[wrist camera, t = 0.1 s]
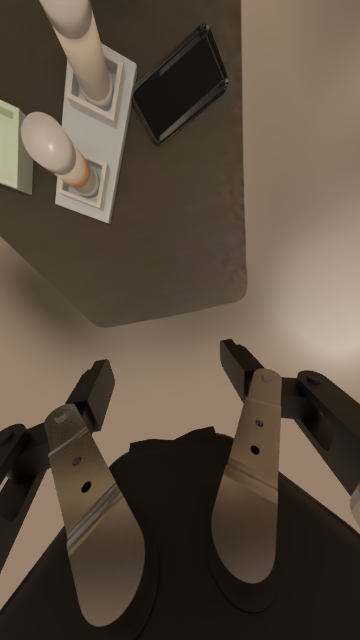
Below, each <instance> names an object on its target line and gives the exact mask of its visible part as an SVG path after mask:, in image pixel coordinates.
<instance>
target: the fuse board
mask: <svg viewBox="0 0 360 640" xmlns="http://www.w3.org/2000/svg"><path fill="white" fill-rule="evenodd" d="M101 46H102V49H103V53H104V57H105V61H106V64H107V68H108V71H109V73H110V76H111V80H112V84H113V88H114V93H113V100H112V106H111V108H110V109H109V110H108V111H104V110H102V109H100V108H98V107H96V106H94V105H93V104H91V103H89V102H87V101H86V99H85V97H84V95H83V93H82V91H81V88H80V86H79V84H78V80H77V78H76V76H75V74H74V72H73V69H72V67H71V65H70V63H69V61H68V59H67V71H66V82H65V94H64V106H63V118H62V128H63V130H64V131H65V132H66V134H67V135H68V136H69V138H70V139H71V141H72V143H73V144H74V145H75V147H76V148H77V149H78V150H79V151H80V153H81V154H82V155H83V156H84V158H85V159H86V161H87V162H88V164H90V165H91V166H92V168H93V169H94V170H95V172H96V173H97V174H98V176H99V178H100V185H99V192H98V195H97V196H95V197H93V198H86V197H83V196H82V195H80V194H79V193H78V192H76V191H75V190H74V189H73V188H72V187H71V186H69V185H68V184H66V183H65V182H63V181H62V180H61V179H60V178H59V177H57V189H56V201H55V204H57V205H59V206H62V207H64V208H67V209H70V210H73V211H75V212H78V213H81V214H83V215H86V216H89V217H92V218H94V219H97V220H100V221H102V222H105V223H108V224H110V223H111V217H112V212H113V206H114V201H115V195H116V190H117V184H118V179H119V173H120V167H121V162H122V156H123V151H124V145H125V140H126V134H127V129H128V123H129V118H130V112H131V106H132V101H131V100H132V95H133V90H134V85H135V84H136V79H137V65H136V64H135V63H134V62H132V61H130V60H129V59H127V58H125V57H124V56H122V55H120V54H119V53H117V52H115V51H114V50H112V49H110V48H109V47H107V46H105V45H103V44H102V43H101Z"/></svg>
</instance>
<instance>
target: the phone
mask: <svg viewBox="0 0 360 640" xmlns="http://www.w3.org/2000/svg"><path fill="white" fill-rule="evenodd" d="M227 86H228V76H227V73H226V70H225V68H224V65H223V62H222V60H221V57H220V54H219V51H218V49H217V46H216V43H215V41H214V38H213V35H212V32H211V30H210V28H209V26H208V25H206V24H201V25H200V26H199V27H198V28H196V29H195V30H194V31H193V32H192V33H191V34H190V35H189V36H188V37H187V38H185V39H184V40H183V41H182V42H181V43H180V44H179V45H178V46H177V47H176V48H174V49H173V50H172V51H171V52H170V53H169V54H168V55H167V56H166V57H165V58H163V59H162V60H161V61H160V62H159V63H158V64H157V65H156V66H155V67H154V68H153V69H151V70H150V71H149V72H148V73H147V74H146V75H145V76H144V77H143V78H142V79H140V80H139V81H138V82H137V83H136V84H135V85H134V90H133V95H132V100H131V101H132V105H133V107H134V109H135V111H136V113H137V114H138V116H139V118H140V120H141V122H142V123H143V125H144V127H145V129H146V131H147V132H148V134H149V136H150V138H151V140H152V141H153V143H154V144H155V145H156V146H162V145H163V144H164V143H165V142H167V141H168V140H169V139H170V138H171V137H172V136H174V135H175V134H176V133H177V132H178V131H180V130H181V129H182V128H183V127H184V126H186V125H187V124H188V123H189V122H190V121H191V120H193V119H194V118H195V117H196V116H197V115H199V114H200V113H201V112H202V111H203V110H205V109H206V108H207V107H208V106H209V105H210V104H212V103H213V102H214V101H215V100H216V99H218V98H219V97H220V96H221V95H222V94H223V93H224V92H225V90H226V88H227Z"/></svg>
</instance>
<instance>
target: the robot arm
mask: <svg viewBox="0 0 360 640" xmlns="http://www.w3.org/2000/svg"><path fill="white" fill-rule="evenodd" d="M220 359H221V364H222V367H223V368H224V370H225V372H226V374H227V375H228V377H229V379H230V381H231V383H232V384H233V386H234V388H235V389H236V391H237V393H238V395H239V396H240V398H241V400H242V401H243V403H244V405H243V408H242V412H241V416H240V420H239V423H238V427H237V431H236V434H235V438H232V437H230V436H227V435H224V434H219V433H215V430H214V427H213V426H212V427H207V428H203V429H197V430H193V431H191V432H189V433H187V434H185V435H183V436H181V437H179V438H177V439H175V440H160V439H148V440H144V441H139V442H134V443H130V449H129V452H127V453H125V454H124V455H122V456H121V457H119V458H118V459H117V460H116V461H115V462H113V463H112V464H111V465H110V467H109V468H108V466H107V465H106V463H105V461H104V459H103V457H102V455H101V453H100V451H99V449H98V447H97V445H96V444H95V442H94V440H93V438H92V433H93V432H97V431H100V430H101V428H102V424H103V421H104V418H105V415H106V411H107V408H108V405H109V402H110V398H111V395H112V391H113V389H114V384H115V379H114V375H113V372H112V369H111V366H110V363H109V361H108V360H107V359H106V360H100V361H96V362H95V363H94V365H93V366H92V368H91V369H90V370H87V371H86V372H85V373H84V374H83V375H82V376H81V378H80V380H79V382H78V383H77V385H76V387H75V388H74V390H73V391H72V393H71V395H70V396H69V398H68V400H67V401H66V403H65V405H63V406H60V407H58V408H57V409H55V410H54V411H53V412H51V413H50V414H49V415H48V417H47V418H46V419H45V422H44V423H41V424H39V425H36V426H34V427H32V428H29V429H26V427H25V426H24V425H23V424H15V425H12V426H9V427H7V428H5V429H4V430H2V431H0V485H1V483H2V481H3V480H4V478H5V477H6V476H7V477H8V480H7V482H6V483H5V485H4V487H3V488H2V490H1V492H0V573H1V570H2V568H3V566H4V564H5V561H6V559H7V557H8V555H9V552H10V550H11V548H12V546H13V543H14V541H15V539H16V537H17V535H18V533H19V530H20V528H21V526H22V524H23V521H24V519H25V517H26V515H27V512H28V510H29V508H30V505H31V503H32V501H33V499H34V497H35V495H36V492H37V490H38V488H39V486H40V483H41V481H42V479H43V477H44V475H45V472H46V470H47V469H49V468H51V469H52V474H53V478H54V482H55V486H56V491H57V495H58V499H59V503H60V508H61V512H62V516H63V520H64V527H63V528H62V529H61V531H60V532H59V533H58V535H57V536H56V537H55V539H54V540H53V541H52V543H51V544H50V545H49V547H48V548H47V549H46V550H45V552H44V553H43V554H42V556H41V557H40V559H39V560H38V561H37V562H36V564H35V565H34V567H33V568H32V569H31V570H30V572H29V573H28V574H27V576H26V577H25V578H24V580H23V581H22V582H21V584H20V585H19V586H18V588H17V589H16V590H15V592H14V593H13V594H12V596H11V597H10V598H9V600H8V601H7V602H6V604H5V605H4V606H3V608H2V609H1V610H0V640H360V534H359V533H358V532H357V531H356V530H355V529H353V528H352V527H351V526H350V525H348V524H347V523H346V522H345V521H343V520H342V519H341V518H339V517H338V516H337V515H336V514H334V513H333V512H332V511H330V510H329V509H328V508H326V507H325V506H324V505H322V504H321V503H320V502H319V501H317V500H316V499H315V498H313V497H312V496H311V495H309V494H308V493H307V492H305V491H304V490H303V489H301V488H300V487H299V486H297V485H296V484H295V483H293V482H292V481H291V480H289V479H288V478H287V477H286V476H284V475H283V474H282V473H280V472H279V471H278V467H279V446H280V425H281V418H290V419H294V420H295V422H296V423H297V424H298V426H299V427H300V429H301V430H302V431H303V433H304V434H305V435H306V437H307V438H308V439H309V441H310V442H311V443H312V445H313V446H314V447H315V448H316V450H317V451H318V453H319V454H320V455H321V456H322V458H323V459H324V461H325V462H326V463H327V465H328V466H329V467H330V469H331V470H332V471H333V473H334V474H335V476H336V477H337V478H338V480H339V481H340V482H341V484H342V485H343V486H344V488H345V489H346V490H347V492H348V493H349V495H350V496H351V498H350V508H351V511H352V514H353V516H354V518H355V520H356V521H357V523H358V525H359V527H360V404H359V403H358V402H356V401H355V400H354V399H353V398H351V397H350V396H349V395H348V394H346V393H345V392H344V391H343V390H341V389H340V388H339V387H338V386H336V385H335V384H334V383H333V382H332V381H330V380H329V379H327V377H325V376H323V375H322V374H320V373H317V372H314V371H301V372H299V373H298V376H297V378H284V377H281V376H280V375H279V374H278V373H276V372H275V371H273V370H270V369H265V368H264V367H263V366H262V365H261V364H260V363H259V361H258V360H257V359H256V358H255V357H253V355H252V354H251V353H250V352H249V351H248V350H247V349H246V348H245V347H244V346H242V345H236V344H235V343H234V342H233V340H232V339H227V340H222V341H220Z"/></svg>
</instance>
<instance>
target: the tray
mask: <svg viewBox="0 0 360 640" xmlns="http://www.w3.org/2000/svg"><path fill="white" fill-rule="evenodd" d="M25 117H26V115H25V114H24V113H23V112H22V111H21V110H20V109H19V108H17V107H14V106H12V105H10V104H8V103H6V102H4V101H1V100H0V184H2V185H5V186H8V187H10V188H13V189H16V190H18V191H21V192H24V193H27V194H29V195H32V181H33V158H32V157H31V156H30V155H29V153H28V152H27V150H26V148H25V146H24V144H23V141H22V137H21V126H22V122H23V120H24V119H25Z"/></svg>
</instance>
